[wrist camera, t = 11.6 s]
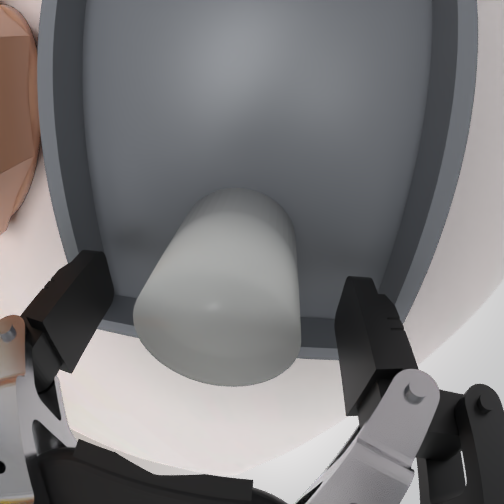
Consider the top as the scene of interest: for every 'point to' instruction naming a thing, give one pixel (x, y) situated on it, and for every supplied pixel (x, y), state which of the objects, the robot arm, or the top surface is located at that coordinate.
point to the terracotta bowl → (17, 112)
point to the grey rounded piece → (225, 293)
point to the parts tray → (259, 132)
